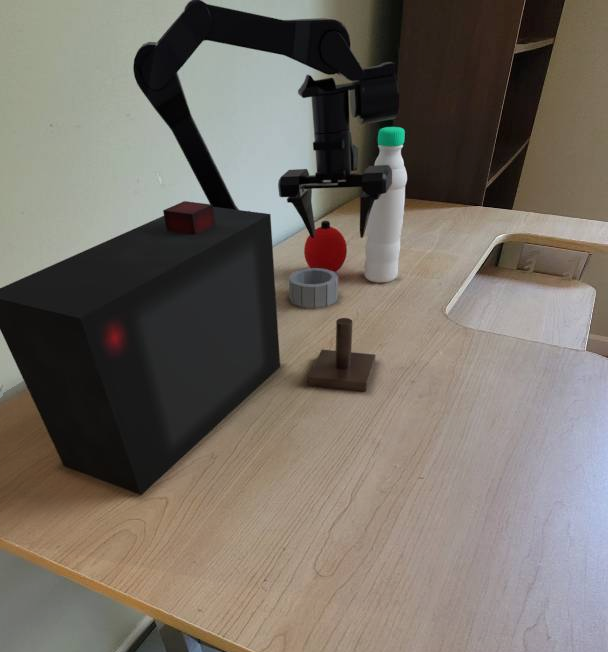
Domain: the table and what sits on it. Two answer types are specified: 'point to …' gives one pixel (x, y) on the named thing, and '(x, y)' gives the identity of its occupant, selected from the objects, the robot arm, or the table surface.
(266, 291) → the speaker
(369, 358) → the stand
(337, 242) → the ornament
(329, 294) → the tape
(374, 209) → the water bottle
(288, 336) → the table surface
